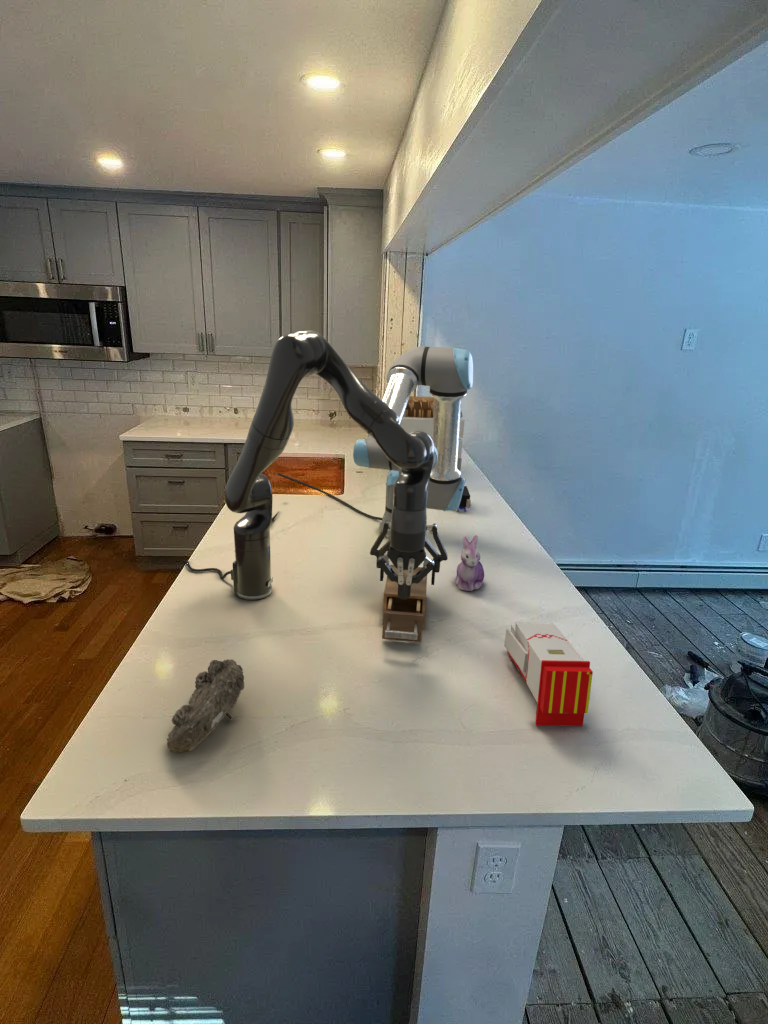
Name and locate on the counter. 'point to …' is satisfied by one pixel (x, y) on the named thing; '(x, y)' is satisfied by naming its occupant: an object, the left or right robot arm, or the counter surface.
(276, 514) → the feather
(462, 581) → the figurine
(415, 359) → the right robot arm
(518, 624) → the toy
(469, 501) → the figurine character
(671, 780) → the counter surface
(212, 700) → the fossil
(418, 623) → the drawer
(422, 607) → the cabinet
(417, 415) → the grey storage bin
